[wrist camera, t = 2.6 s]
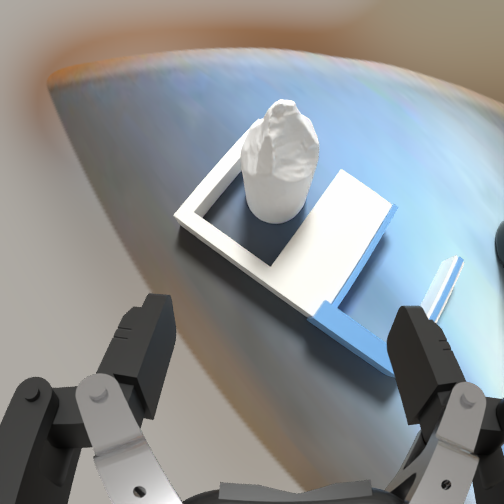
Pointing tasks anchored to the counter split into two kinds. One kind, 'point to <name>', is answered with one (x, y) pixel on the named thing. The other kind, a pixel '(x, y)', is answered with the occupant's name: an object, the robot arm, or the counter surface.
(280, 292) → the white rail frame
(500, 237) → the supplement bottle
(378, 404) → the counter surface
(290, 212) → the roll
